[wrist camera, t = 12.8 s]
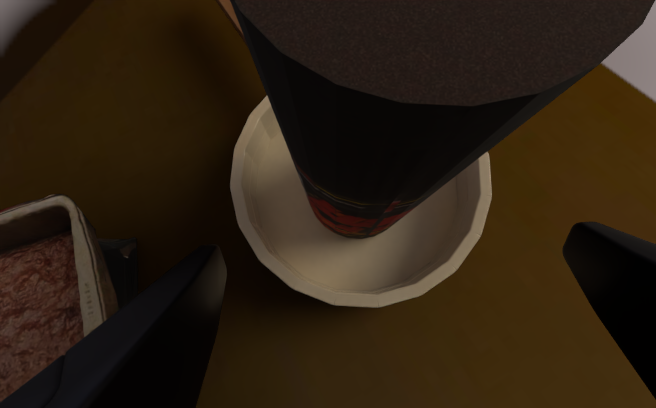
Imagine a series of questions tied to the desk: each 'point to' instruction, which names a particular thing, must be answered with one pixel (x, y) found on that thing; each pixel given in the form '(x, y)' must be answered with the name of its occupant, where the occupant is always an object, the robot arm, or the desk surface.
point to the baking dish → (55, 284)
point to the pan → (340, 252)
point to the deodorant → (414, 87)
